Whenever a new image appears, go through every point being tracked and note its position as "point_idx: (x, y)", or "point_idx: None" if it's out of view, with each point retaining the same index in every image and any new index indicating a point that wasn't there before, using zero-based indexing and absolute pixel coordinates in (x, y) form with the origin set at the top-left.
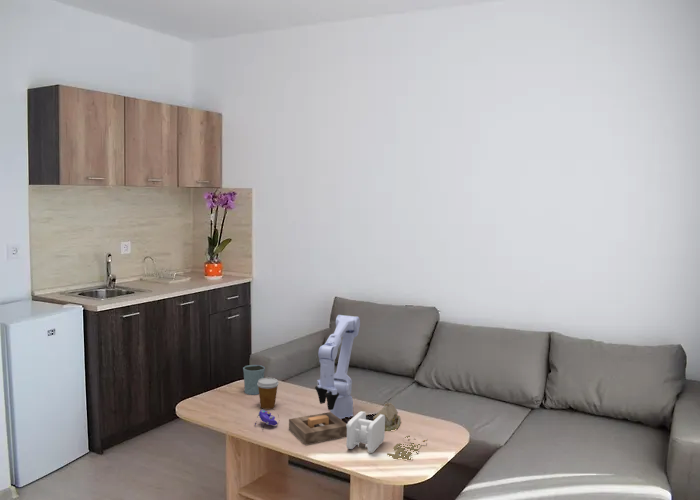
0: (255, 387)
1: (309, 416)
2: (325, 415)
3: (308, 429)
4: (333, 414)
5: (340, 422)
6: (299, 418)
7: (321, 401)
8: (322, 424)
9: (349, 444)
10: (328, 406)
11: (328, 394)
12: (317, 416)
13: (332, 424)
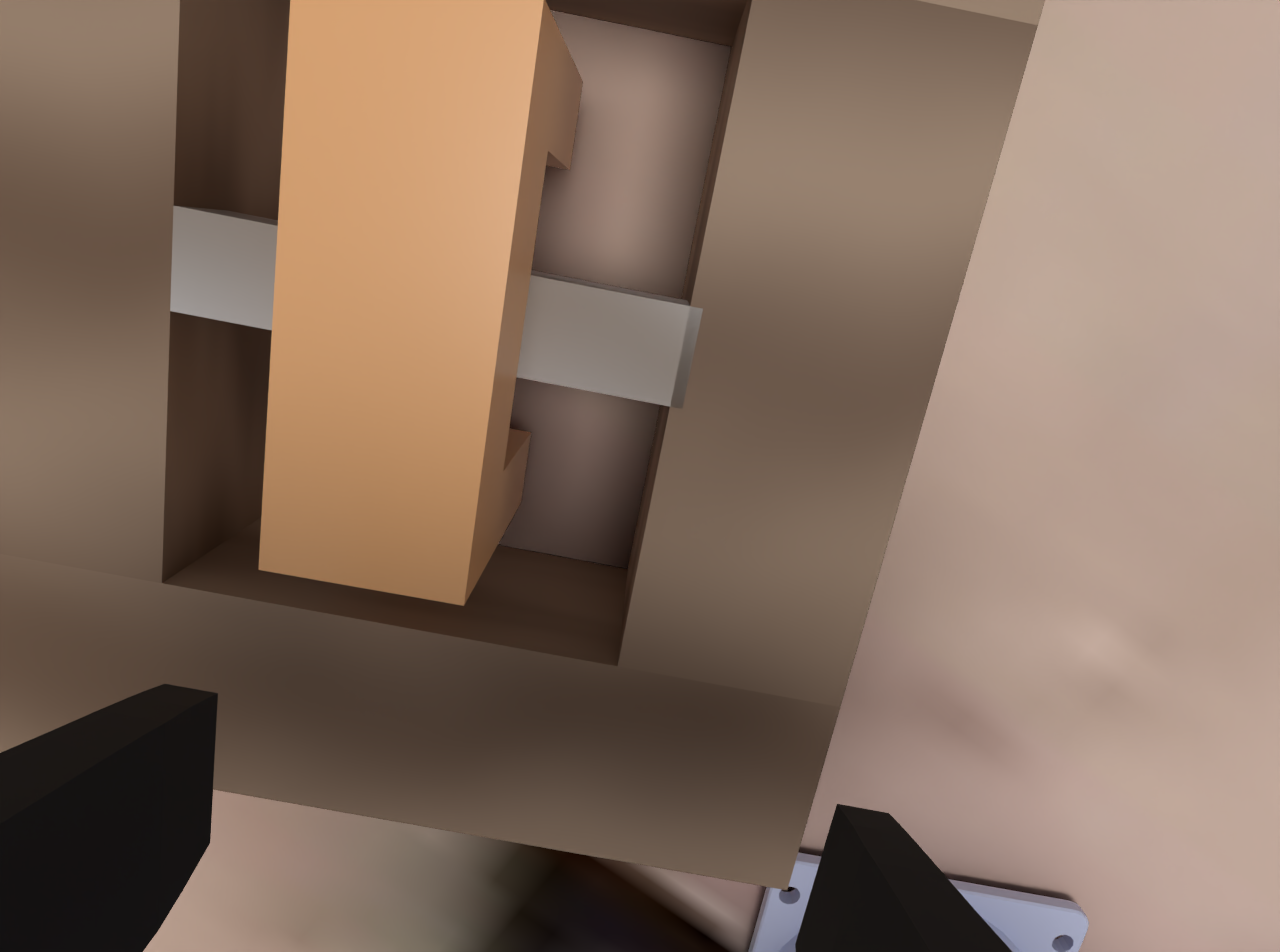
0: None
1: (887, 351)
2: (413, 570)
3: None
4: (627, 853)
5: None
6: (959, 24)
7: (846, 894)
8: (255, 307)
9: None
10: (37, 739)
11: None
12: (477, 343)
13: (138, 503)
